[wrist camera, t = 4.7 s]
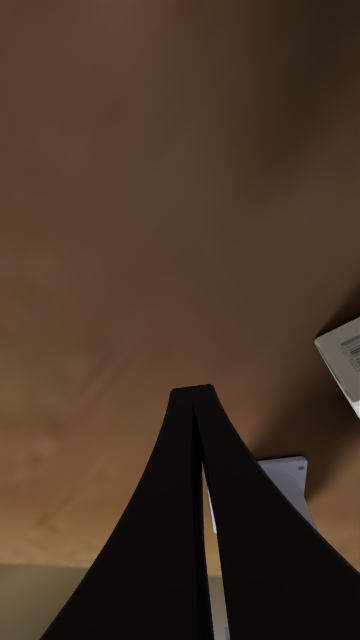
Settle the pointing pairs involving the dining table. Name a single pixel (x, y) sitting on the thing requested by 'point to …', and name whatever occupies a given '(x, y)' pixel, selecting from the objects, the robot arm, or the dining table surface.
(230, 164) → the dining table surface
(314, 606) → the robot arm
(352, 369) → the syrup box
